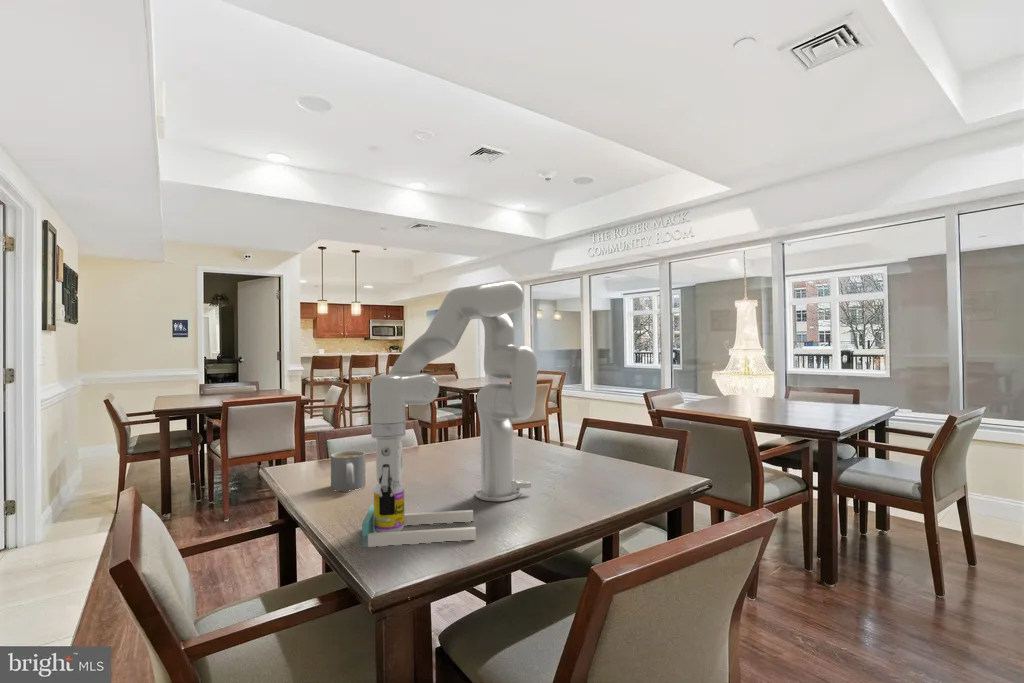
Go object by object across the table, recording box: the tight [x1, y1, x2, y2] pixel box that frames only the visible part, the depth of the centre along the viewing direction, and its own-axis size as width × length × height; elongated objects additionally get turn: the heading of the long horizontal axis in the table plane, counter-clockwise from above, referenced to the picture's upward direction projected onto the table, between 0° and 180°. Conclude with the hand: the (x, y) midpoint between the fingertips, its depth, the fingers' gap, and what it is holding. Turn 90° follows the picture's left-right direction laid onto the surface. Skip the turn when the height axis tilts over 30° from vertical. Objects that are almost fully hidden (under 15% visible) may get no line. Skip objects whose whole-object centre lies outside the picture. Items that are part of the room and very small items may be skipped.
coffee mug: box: [330, 450, 366, 492], centre depth 145 cm, size 13×10×10 cm
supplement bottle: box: [373, 470, 405, 533], centre depth 109 cm, size 7×7×13 cm
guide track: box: [361, 504, 477, 548], centre depth 110 cm, size 24×12×5 cm, turn 98°
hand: (389, 508), depth 109 cm, fingers closed on supplement bottle, 6 cm apart
